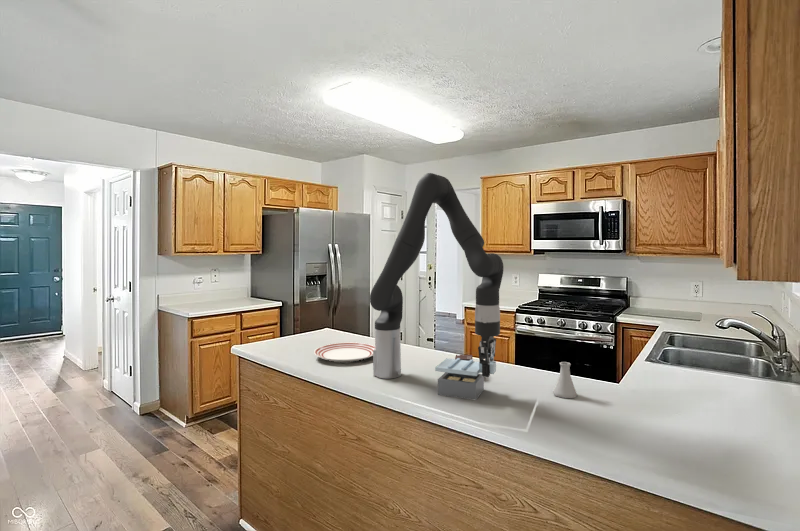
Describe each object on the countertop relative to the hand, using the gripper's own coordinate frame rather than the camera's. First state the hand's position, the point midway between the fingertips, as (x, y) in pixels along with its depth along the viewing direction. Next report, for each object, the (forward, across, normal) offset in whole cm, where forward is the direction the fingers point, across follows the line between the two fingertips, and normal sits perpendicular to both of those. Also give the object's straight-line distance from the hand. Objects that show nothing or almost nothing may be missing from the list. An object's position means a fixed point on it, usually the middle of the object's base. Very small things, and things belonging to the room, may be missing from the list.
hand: (487, 374), depth 133 cm
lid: (-1, 0, -6) cm, 6 cm away
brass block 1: (+7, 0, -11) cm, 13 cm away
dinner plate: (+8, -26, -66) cm, 72 cm away
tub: (+7, 0, -8) cm, 11 cm away
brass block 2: (+7, 0, -6) cm, 9 cm away
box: (+8, -17, -12) cm, 22 cm away
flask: (+7, -11, +22) cm, 25 cm away
